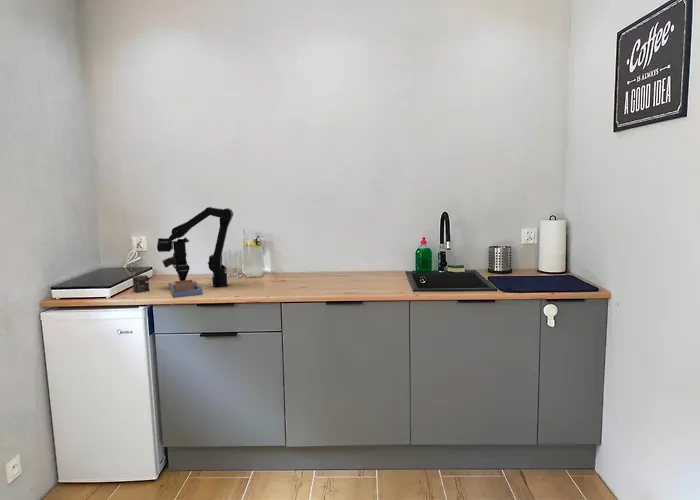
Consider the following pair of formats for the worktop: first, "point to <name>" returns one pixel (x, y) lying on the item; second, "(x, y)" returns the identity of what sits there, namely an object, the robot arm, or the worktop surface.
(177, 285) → the crate
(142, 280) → the box
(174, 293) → the crate bay
